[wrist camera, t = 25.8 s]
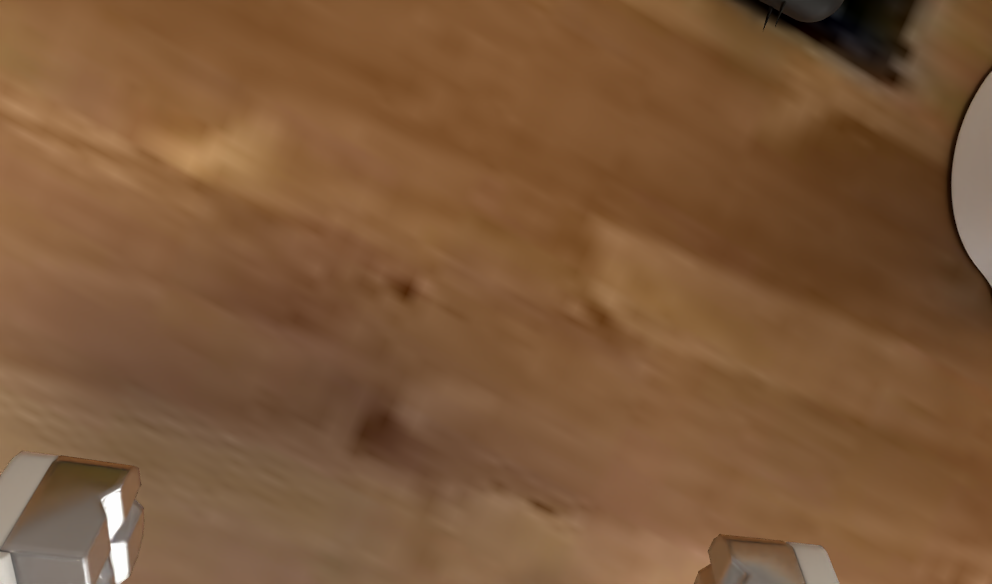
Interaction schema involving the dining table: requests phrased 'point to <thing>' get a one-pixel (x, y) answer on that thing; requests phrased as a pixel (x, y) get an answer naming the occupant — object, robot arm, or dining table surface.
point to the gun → (803, 9)
